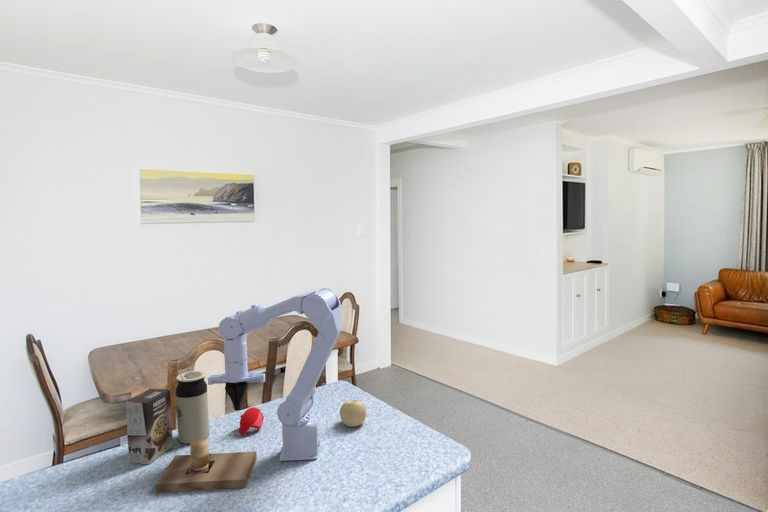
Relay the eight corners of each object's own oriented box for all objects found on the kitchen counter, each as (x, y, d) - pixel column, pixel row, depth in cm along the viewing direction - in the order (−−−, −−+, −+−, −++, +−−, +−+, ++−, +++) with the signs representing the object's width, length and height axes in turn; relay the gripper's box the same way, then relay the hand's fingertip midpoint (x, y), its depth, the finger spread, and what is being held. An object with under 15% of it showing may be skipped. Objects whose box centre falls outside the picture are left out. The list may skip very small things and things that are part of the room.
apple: (354, 432, 125) (341, 408, 125) (344, 432, 131) (331, 409, 132) (375, 416, 129) (362, 393, 130) (364, 417, 136) (351, 395, 136)
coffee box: (150, 465, 109) (146, 402, 108) (127, 462, 111) (124, 400, 109) (174, 446, 118) (171, 388, 117) (153, 444, 120) (150, 387, 118)
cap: (252, 410, 133) (237, 406, 128) (266, 407, 130) (251, 403, 126) (248, 438, 128) (232, 435, 124) (263, 436, 126) (247, 432, 121)
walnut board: (256, 458, 112) (256, 451, 112) (245, 487, 100) (245, 479, 100) (175, 463, 110) (175, 455, 110) (155, 492, 98) (154, 484, 98)
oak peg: (212, 469, 107) (210, 438, 106) (206, 479, 103) (204, 447, 102) (195, 470, 107) (194, 439, 106) (189, 480, 103) (187, 447, 102)
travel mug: (208, 428, 128) (205, 368, 127) (210, 440, 121) (207, 377, 120) (178, 434, 125) (175, 373, 123) (178, 447, 118) (175, 382, 116)
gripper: (266, 353, 121) (268, 401, 122) (212, 355, 120) (214, 403, 121) (261, 362, 114) (263, 412, 115) (204, 364, 113) (206, 415, 114)
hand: (238, 408), depth 117 cm, fingers closed
